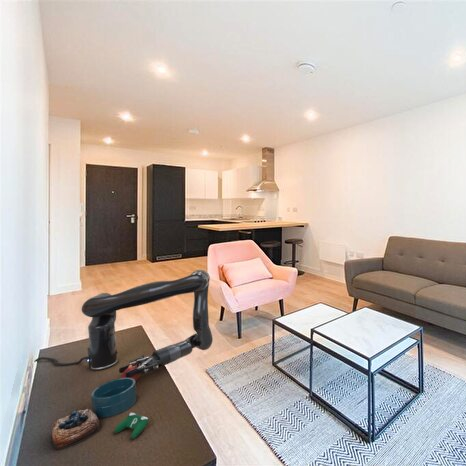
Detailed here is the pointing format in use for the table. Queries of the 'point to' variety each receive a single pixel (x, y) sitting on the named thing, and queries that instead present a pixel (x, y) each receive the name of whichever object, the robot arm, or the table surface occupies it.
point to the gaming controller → (133, 424)
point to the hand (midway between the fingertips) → (122, 372)
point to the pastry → (74, 428)
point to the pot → (114, 397)
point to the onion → (129, 370)
